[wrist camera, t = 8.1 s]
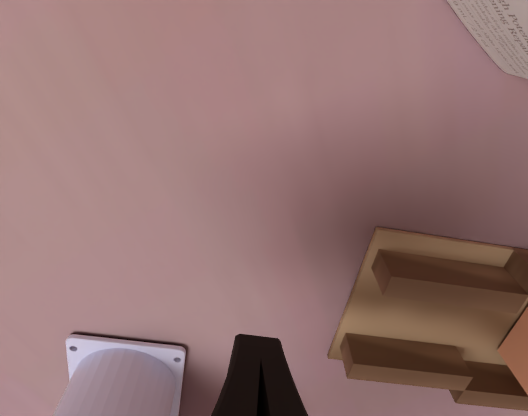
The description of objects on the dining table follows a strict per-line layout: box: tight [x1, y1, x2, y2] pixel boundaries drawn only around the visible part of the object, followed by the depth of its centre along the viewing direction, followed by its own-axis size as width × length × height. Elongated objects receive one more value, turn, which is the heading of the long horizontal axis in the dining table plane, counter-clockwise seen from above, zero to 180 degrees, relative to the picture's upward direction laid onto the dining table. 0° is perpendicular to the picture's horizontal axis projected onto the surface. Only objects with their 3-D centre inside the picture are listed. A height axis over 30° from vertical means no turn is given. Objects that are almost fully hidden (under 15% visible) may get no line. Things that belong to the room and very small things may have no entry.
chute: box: [327, 227, 528, 411], centre depth 24 cm, size 11×19×3 cm, turn 80°
